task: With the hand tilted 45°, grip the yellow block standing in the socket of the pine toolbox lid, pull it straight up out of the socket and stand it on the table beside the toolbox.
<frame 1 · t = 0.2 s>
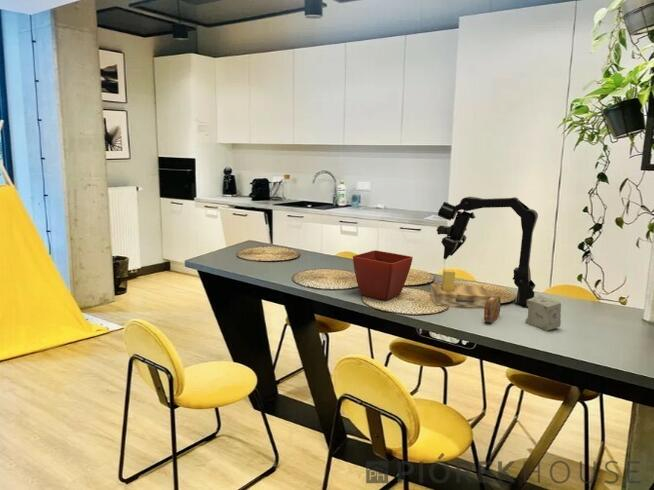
hand: (447, 257, 230), 15 cm above the table, tool tilted 15°, fingers open, 9 cm apart
yellow block: (446, 298, 217), point 1 cm above the table, touching toolbox
toolbox: (459, 301, 217), on the table
grey concrete block: (541, 327, 192), on the table
plant pot: (380, 295, 222), on the table
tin: (491, 320, 197), on the table
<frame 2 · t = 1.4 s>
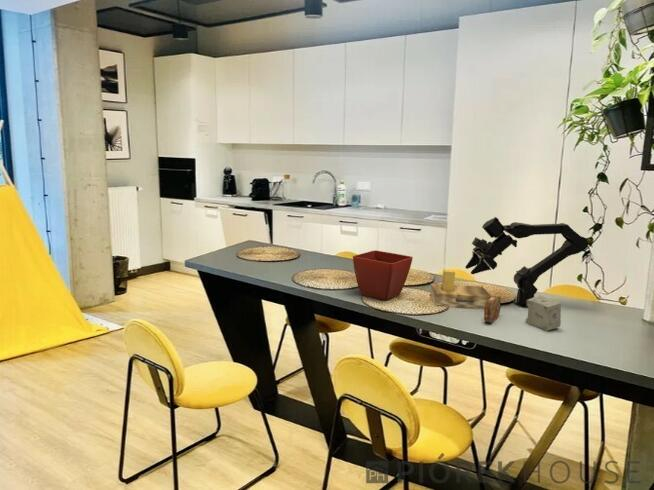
hand: (468, 270, 215), 13 cm above the table, tool tilted 45°, fingers open, 9 cm apart
nothing on the table moved.
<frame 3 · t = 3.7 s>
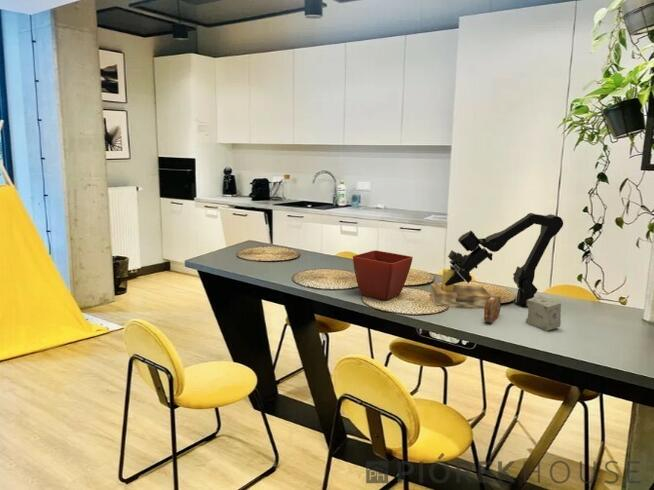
hand: (444, 283, 216), 7 cm above the table, tool tilted 45°, fingers closed on yellow block, 4 cm apart
yellow block: (446, 298, 217), point 1 cm above the table, touching gripper, toolbox
everything else where it was.
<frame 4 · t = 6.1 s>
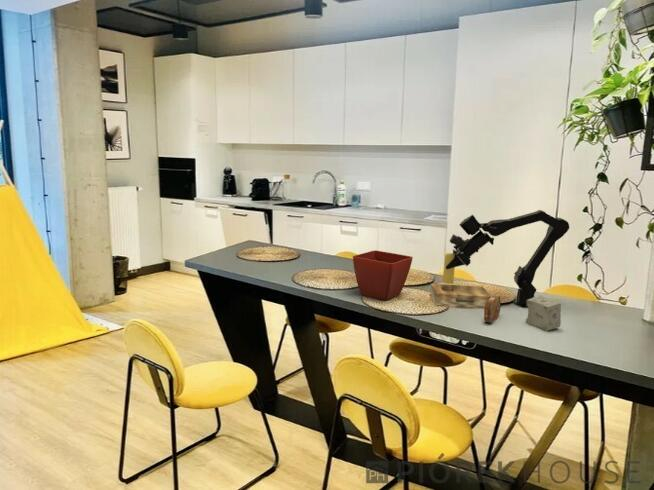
hand: (445, 267, 219), 13 cm above the table, tool tilted 45°, fingers closed on yellow block, 4 cm apart
yellow block: (447, 282, 220), point 7 cm above the table, touching gripper
everything else where it was.
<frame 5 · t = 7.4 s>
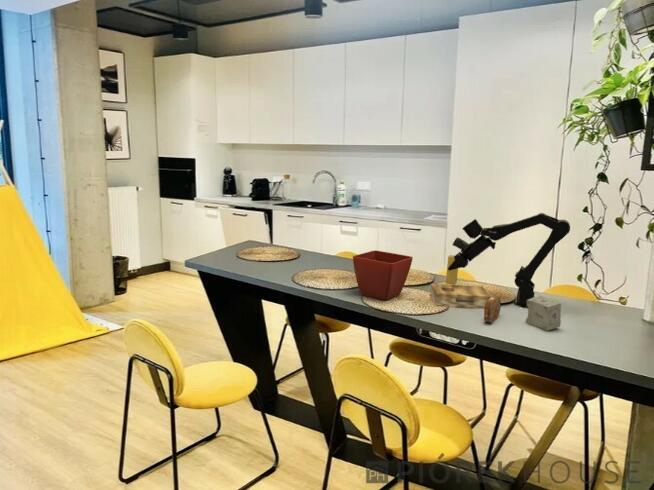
hand: (449, 268, 228), 11 cm above the table, tool tilted 45°, fingers closed on yellow block, 4 cm apart
yellow block: (451, 283, 228), point 5 cm above the table, touching gripper
everything else where it was.
when the fingers open (8 cm above the table, at t = 8.4 s): yellow block drops 1 cm, on the table.
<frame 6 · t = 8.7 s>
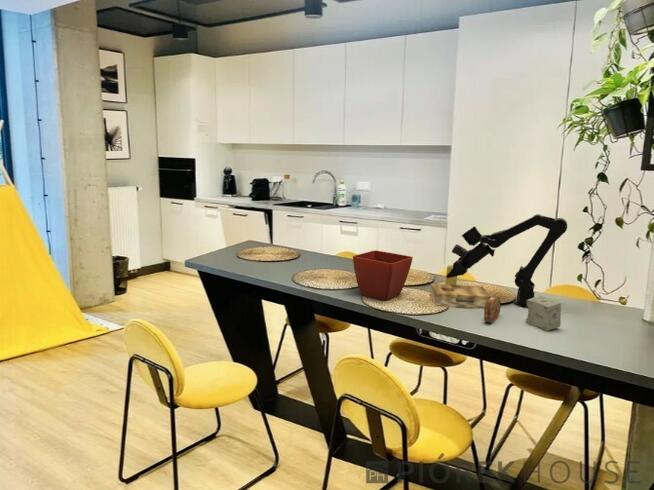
hand: (448, 275, 228), 8 cm above the table, tool tilted 45°, fingers open, 8 cm apart
yellow block: (449, 293, 229), on the table
everything else where it was.
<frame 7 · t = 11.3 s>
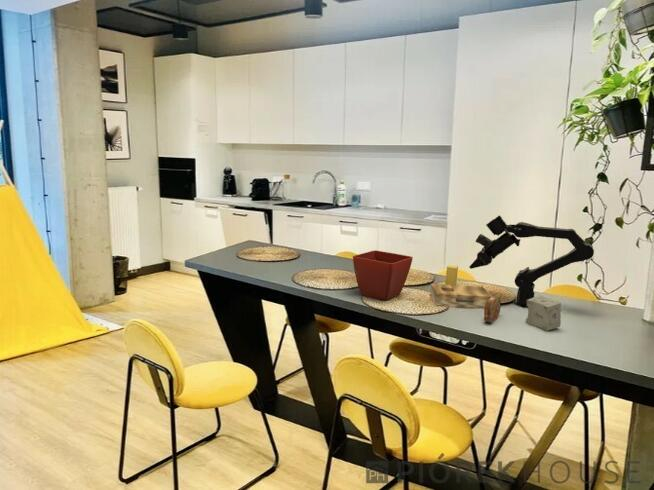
hand: (471, 265, 223), 14 cm above the table, tool tilted 45°, fingers open, 9 cm apart
nothing on the table moved.
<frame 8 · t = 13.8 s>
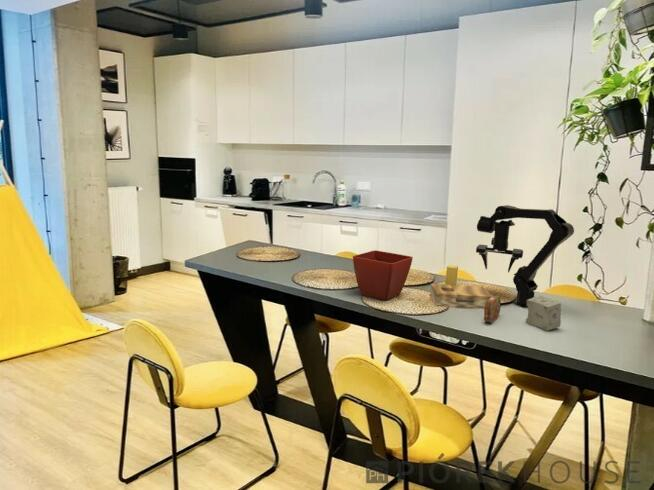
hand: (497, 270, 223), 12 cm above the table, tool pointing down, fingers open, 9 cm apart
nothing on the table moved.
at the end: yellow block inside the target area (0.1 cm from its centre), on the table; yellow block tilted 0°; the gripper is holding nothing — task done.
